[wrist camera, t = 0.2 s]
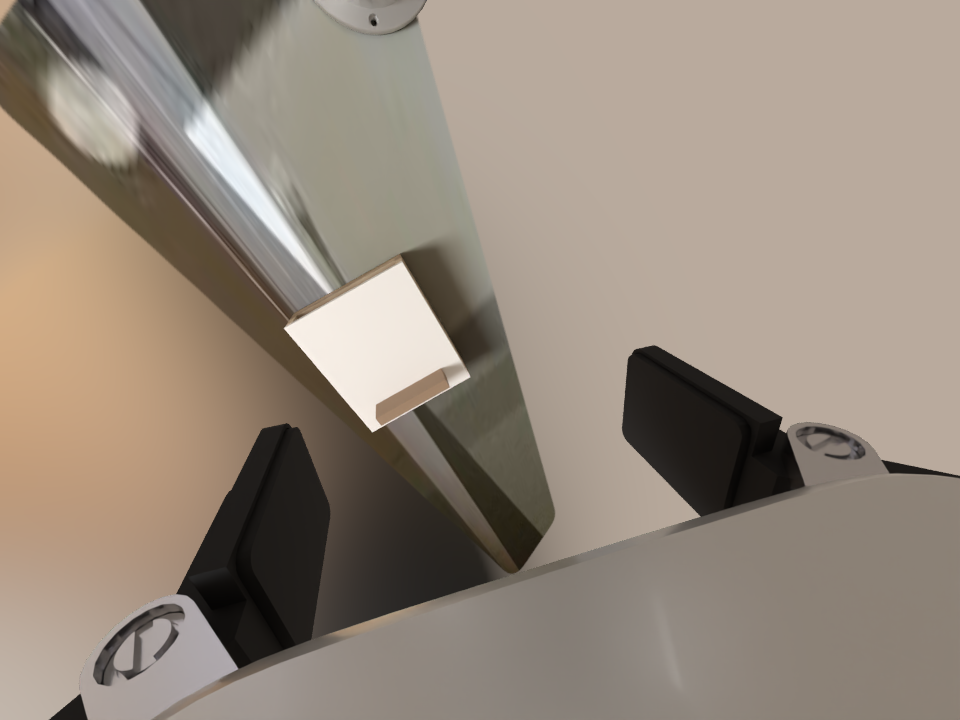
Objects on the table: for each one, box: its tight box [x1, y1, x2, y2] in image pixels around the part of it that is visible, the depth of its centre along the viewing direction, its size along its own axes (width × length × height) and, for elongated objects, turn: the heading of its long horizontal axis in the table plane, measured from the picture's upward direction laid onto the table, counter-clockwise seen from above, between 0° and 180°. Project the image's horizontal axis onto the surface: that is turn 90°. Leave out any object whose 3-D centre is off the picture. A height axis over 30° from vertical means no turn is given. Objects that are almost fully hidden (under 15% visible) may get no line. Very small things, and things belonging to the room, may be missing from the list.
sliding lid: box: [284, 261, 470, 432], centre depth 41 cm, size 16×14×4 cm
